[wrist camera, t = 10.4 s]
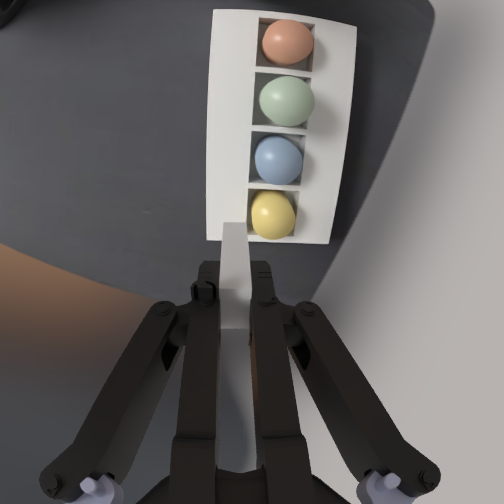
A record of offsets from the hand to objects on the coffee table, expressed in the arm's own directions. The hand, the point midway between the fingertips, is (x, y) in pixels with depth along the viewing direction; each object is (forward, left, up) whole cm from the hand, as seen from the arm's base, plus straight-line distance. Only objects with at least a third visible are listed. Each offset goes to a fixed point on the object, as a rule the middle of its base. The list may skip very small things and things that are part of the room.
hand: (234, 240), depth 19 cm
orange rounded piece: (-15, +4, -14) cm, 21 cm away
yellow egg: (+3, +4, -14) cm, 15 cm away
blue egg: (-3, +4, -14) cm, 15 cm away
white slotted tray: (-6, +4, -15) cm, 17 cm away
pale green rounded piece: (-9, +4, -12) cm, 15 cm away
